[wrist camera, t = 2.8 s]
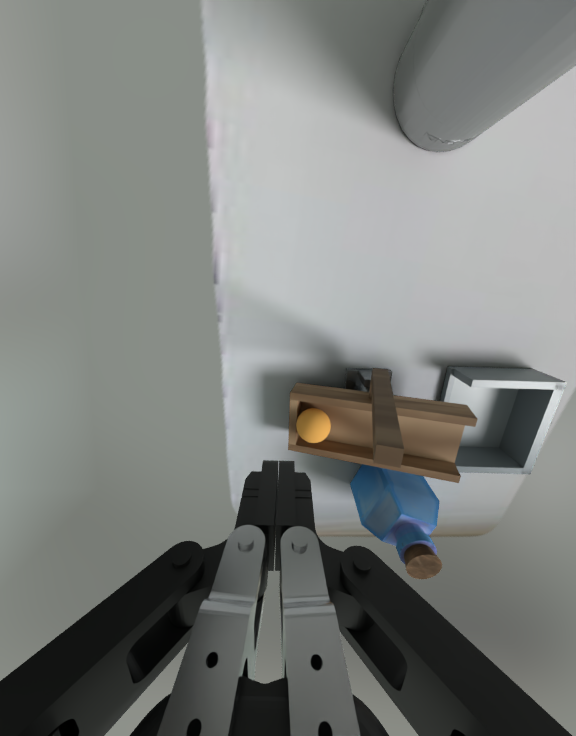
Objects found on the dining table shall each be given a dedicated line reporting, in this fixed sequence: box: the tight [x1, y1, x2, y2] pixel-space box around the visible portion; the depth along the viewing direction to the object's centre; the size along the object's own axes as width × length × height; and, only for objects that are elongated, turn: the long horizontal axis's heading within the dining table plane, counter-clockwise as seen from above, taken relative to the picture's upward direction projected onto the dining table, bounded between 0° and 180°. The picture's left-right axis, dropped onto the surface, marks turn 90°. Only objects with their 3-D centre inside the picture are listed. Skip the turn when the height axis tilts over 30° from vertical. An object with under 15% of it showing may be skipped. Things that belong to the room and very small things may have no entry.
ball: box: [296, 408, 331, 443], centre depth 29 cm, size 4×4×4 cm
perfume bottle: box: [350, 464, 442, 579], centre depth 30 cm, size 6×6×12 cm
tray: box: [440, 366, 567, 474], centre depth 31 cm, size 11×10×4 cm
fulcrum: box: [344, 369, 392, 392], centre depth 31 cm, size 10×5×3 cm, turn 178°
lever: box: [288, 368, 478, 483], centre depth 23 cm, size 10×17×14 cm, turn 88°
